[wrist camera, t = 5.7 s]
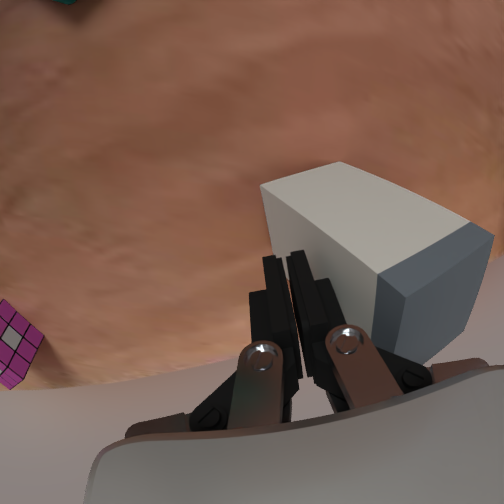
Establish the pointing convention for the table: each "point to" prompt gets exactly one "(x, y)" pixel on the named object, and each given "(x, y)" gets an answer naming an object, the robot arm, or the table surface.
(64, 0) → the digital multimeter
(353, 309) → the tall block
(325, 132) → the table surface
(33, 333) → the puzzle toy
